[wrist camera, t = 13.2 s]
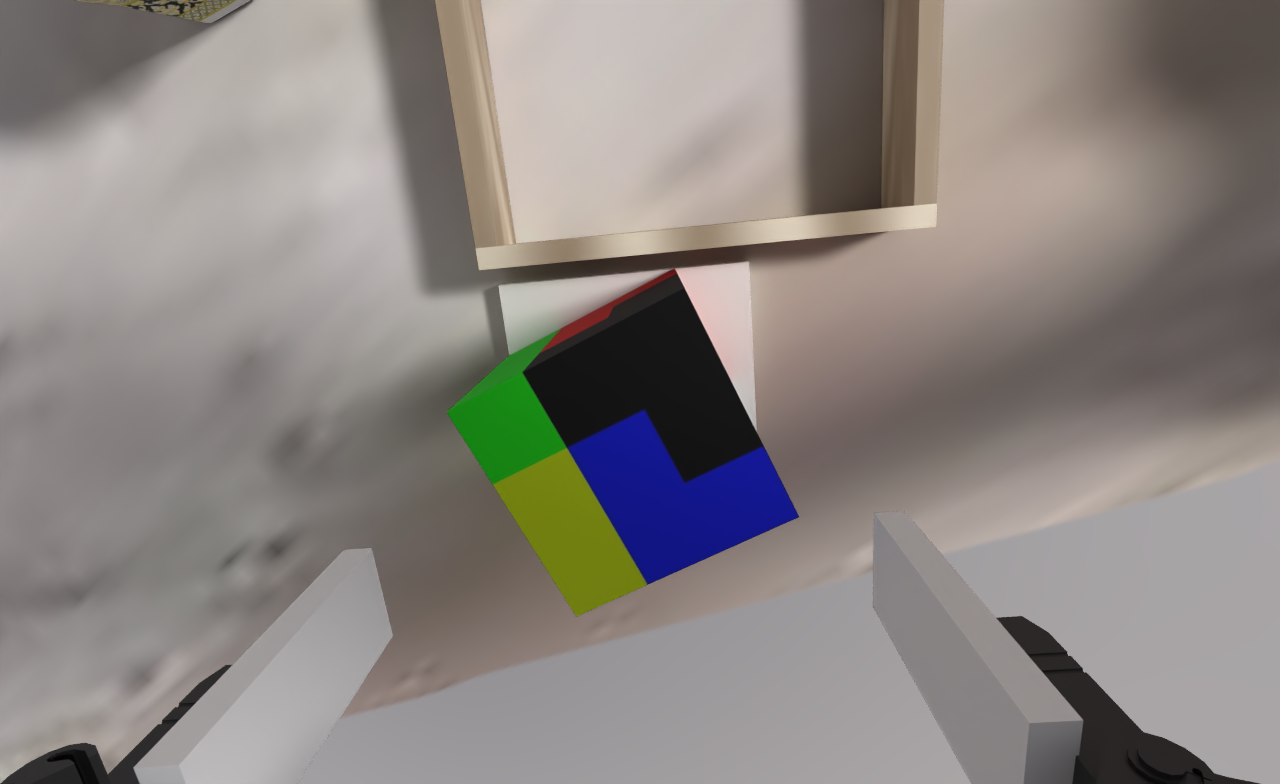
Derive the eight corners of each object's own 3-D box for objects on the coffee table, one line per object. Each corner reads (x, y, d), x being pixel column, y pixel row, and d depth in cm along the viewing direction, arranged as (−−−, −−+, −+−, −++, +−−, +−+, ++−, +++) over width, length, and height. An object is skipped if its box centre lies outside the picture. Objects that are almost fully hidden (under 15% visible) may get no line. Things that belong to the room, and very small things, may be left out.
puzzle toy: (756, 431, 33) (799, 516, 23) (597, 507, 34) (576, 616, 25) (674, 268, 31) (684, 287, 21) (508, 356, 32) (446, 411, 23)
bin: (911, -287, 25) (957, -379, 21) (900, 226, 31) (936, 226, 27) (425, -222, 26) (386, -298, 22) (499, 264, 32) (478, 270, 28)
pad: (746, 260, 32) (749, 261, 31) (756, 487, 35) (759, 494, 34) (502, 283, 32) (498, 285, 31) (536, 504, 36) (533, 512, 35)
